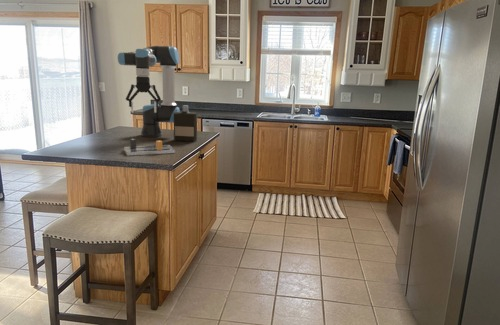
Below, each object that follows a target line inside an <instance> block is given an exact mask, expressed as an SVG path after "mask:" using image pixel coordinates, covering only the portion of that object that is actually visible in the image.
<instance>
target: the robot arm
mask: <svg viewBox="0 0 500 325" xmlns="http://www.w3.org/2000/svg"><path fill="white" fill-rule="evenodd" d="M117 63H118V64H119V65H120V66H132V67H133V66H134V67H135V73H136V74H135V75H136V77H135V79H136V80H135V81H136V82H135V83H136V84H133V83H132V84H130V89H129V91H128V93H127V95H126V96H125V101H127V102H128V104H129V105H128V107H130V109H131V110H130V112H131V113H132V114H134V102H133V100H134V99H135V97H136V96H137V95H138V94H139V93H148V94H149V95H150V97H152V99H153V100H154V101H153V104H145V105H143V106H142V127H141V132H140V136H142V137H145V138H160V137H162V134H163V133H162V130H161V127H160V123H170V124H172V123H173V124H174V113H175V112H181V110H180V107H178V104H177V103H176V97H175V96H176V92H175V91H176V90H175V88H176V87H175V78H176V77H175V72H176V71H175V69H176V68H177V66H178V65H179V64H180V54H179V51H178V48H177V47H175V46H167V45H165V46H164V45H163V46H162V45H151V46H148V47H147V46H146V47H143V48H136V49H135V50H134V51H129V52H118V54H117ZM156 64H159V66H160V67H161V69H162V70H161V72H162V76H161V77H162V99H161V97H160V95H159V92H158V91H157V88H156V85H155V84H152V85H151V84H150V82H151V81H150V68H151V67H154V66H155V65H156ZM135 88H136V90H135V92H134V93H133V90H134V89H135ZM150 89H152V90H153V92H154V94H153V93H152V90H150ZM132 93H133V94H132ZM160 101H162V102H161V103H160V105H159V102H160Z"/></svg>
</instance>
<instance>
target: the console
mask: <svg viewBox="0 0 500 325" xmlns="http://www.w3.org/2000/svg"><path fill="white" fill-rule="evenodd" d="M123 150H124V153H125V155H126V156H127V157H128V156H147V155H148V156H149V155H166V154H176V150H175V148H173V146H171V144H162V150H157V149H156V145H138V146H137V145H136V148H131V147H130V146H124V147H123Z"/></svg>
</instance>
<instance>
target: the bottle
mask: <svg viewBox="0 0 500 325" xmlns="http://www.w3.org/2000/svg"><path fill="white" fill-rule="evenodd" d="M197 140H198V113H197V112H190V111H189V105H187V104H186V105H185V104H184V105H182V111H180V112H175V113H174V123H173V141H174V142H191V143H195V142H196V141H197Z"/></svg>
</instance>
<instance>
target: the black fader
mask: <svg viewBox="0 0 500 325" xmlns="http://www.w3.org/2000/svg"><path fill="white" fill-rule="evenodd" d="M129 144H130V145H129V147H131V148H136V146H137V139H136V138H130V139H129Z"/></svg>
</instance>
